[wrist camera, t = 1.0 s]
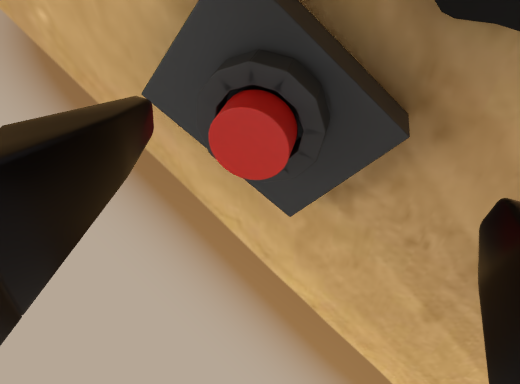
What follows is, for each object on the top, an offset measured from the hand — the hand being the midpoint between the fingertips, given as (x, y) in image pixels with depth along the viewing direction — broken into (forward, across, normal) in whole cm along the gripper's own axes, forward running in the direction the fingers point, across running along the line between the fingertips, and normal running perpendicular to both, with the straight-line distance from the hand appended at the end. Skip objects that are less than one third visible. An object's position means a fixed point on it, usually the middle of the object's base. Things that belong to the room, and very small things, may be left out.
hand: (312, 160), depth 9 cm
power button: (+10, +3, +6) cm, 12 cm away
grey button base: (+14, +3, +6) cm, 15 cm away
